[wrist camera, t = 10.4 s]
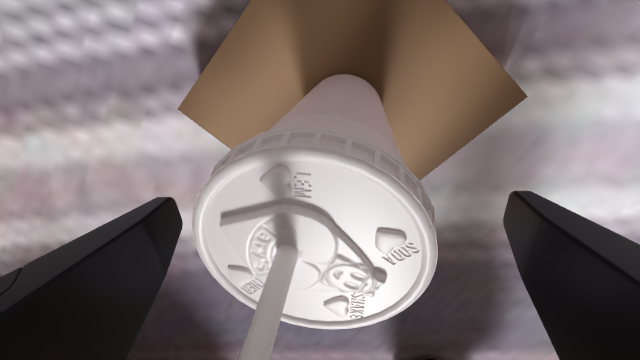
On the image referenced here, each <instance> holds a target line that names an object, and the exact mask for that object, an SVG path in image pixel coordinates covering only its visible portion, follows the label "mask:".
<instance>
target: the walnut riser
mask: <svg viewBox="0 0 640 360" xmlns="http://www.w3.org/2000/svg"><path fill="white" fill-rule="evenodd" d="M339 74H349V75H354V76H357V77H360V78H362V79H364V80H365V81H367V82H368V83H369V84H370V85H371V86H372V87H373V88H374V89H375V90H376V92H377V93H378V95H379V97H380V100H381V103H382V105H383V108H384V111H385V114H386V116H387V119H388V122H389V125H390V128H391V130H392V133H393V136H394V139H395V141H396V144H397V147H398V150H399V152H400V155H401V158H402V161H403V163H404V165H405V166H406V167H407V168H408V169H409V170H410V171H411V172H412V173H413V174H414V175H415V176H416V177H417V178H418V179H419V180H421V179H422V178H423V177H425V176H426V175H427V174H429V173H430V172H431V171H432V170H434V169H435V168H436V167H438V166H439V165H440V164H441V163H443V162H444V161H445V160H447V159H448V158H449V157H450V156H452V155H453V154H454V153H456V152H457V151H458V150H460V149H461V148H462V147H463V146H465V145H466V144H467V143H469V142H470V141H471V140H472V139H474V138H475V137H476V136H478V135H479V134H480V133H481V132H483V131H484V130H485V129H487V128H488V127H489V126H490V125H492V124H493V123H494V122H496V121H497V120H498V119H500V118H501V117H502V116H503V115H505V114H506V113H507V112H509V111H510V110H511V109H512V108H514V107H515V106H516V105H518V104H519V103H520V102H521V101H523V100H524V99H525V98H527V95H526V94H525V93H524V92H523V91H522V90H521V88H520V87H519V86H518V85H517V84H516V83H515V81H514V80H513V79H512V78H511V77H510V75H509V74H508V73H507V72H506V71H505V70H504V68H503V67H502V66H501V65H500V64H499V63H498V61H497V60H496V59H495V58H494V57H493V56H492V54H491V53H490V52H489V51H488V50H487V48H486V47H485V46H484V45H483V44H482V43H481V41H480V40H479V39H478V38H477V37H476V36H475V34H474V33H473V32H472V31H471V30H470V29H469V27H468V26H467V25H466V24H465V23H464V21H463V20H462V19H461V18H460V17H459V16H458V14H457V13H456V12H455V11H454V10H453V9H452V7H451V6H450V5H449V4H448V3H447V2H446V0H251V1H250V2H249V4H248V5H247V7H246V8H245V10H244V11H243V13H242V14H241V16H240V17H239V19H238V20H237V22H236V23H235V25H234V26H233V28H232V29H231V31H230V32H229V34H228V35H227V37H226V38H225V39H224V41H223V42H222V44H221V45H220V47H219V48H218V50H217V51H216V53H215V54H214V56H213V57H212V59H211V60H210V62H209V63H208V65H207V66H206V68H205V69H204V71H203V72H202V74H201V75H200V77H199V78H198V80H197V81H196V83H195V84H194V86H193V87H192V89H191V90H190V92H189V93H188V94H187V96H186V97H185V99H184V100H183V102H182V103H181V105H180V106H179V108H178V110H179V111H181V112H182V113H183V114H185V115H186V116H187V117H189V118H190V119H191V120H193V121H194V122H195V123H197V124H198V125H199V126H201V127H202V128H203V129H205V130H206V131H207V132H209V133H210V134H211V135H213V136H214V137H215V138H217V139H218V140H219V141H221V142H222V143H223V144H225V145H226V146H227V147H229V148H230V149H231V150H232V149H233V148H234V147H235V146H237V145H239V144H241V143H242V142H244V141H246V140H248V139H250V138H252V137H254V136H256V135H258V134H260V133H263V132H267V131H268V130H270V129H271V128H272V127H273V126H274V125H275V124H276V123H277V122H278V121H279V120H280V119H281V118H282V117H284V116H285V115H286V114H287V113H288V112H289V111H290V110H291V109H292V108H293V107H294V106H295V105H296V104H297V103H298V102H299V101H301V100H302V99H303V98H304V97H305V96H306V95H307V94H308V93H309V92H310V91H311V90H312V89H313V88H314V87H315V86H316V85H318V84H319V83H320V82H321V81H323V80H324V79H326V78H328V77H331V76H334V75H339Z"/></svg>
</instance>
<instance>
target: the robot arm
mask: <svg viewBox="0 0 640 360" xmlns="http://www.w3.org/2000/svg"><path fill="white" fill-rule="evenodd" d="M503 223H504V228H505V231H506V234H507V237H508V240H509V243H510V246H511V249H512V252H513V255H514V258H515V261H516V264H517V267H518V270H519V273H520V275H521V278H522V280H523V283H524V285H525V287H526V289H527V291H528V293H529V296H530V298H531V300H532V302H533V304H534V306H535V308H536V310H537V313H538V315H539V317H540V319H541V321H542V323H543V325H544V327H545V330H546V332H547V334H548V336H549V338H550V340H551V342H552V344H553V347H554V349H555V351H556V353H557V355H558V357H559V359H560V360H640V244H638V243H636V242H634V241H631V240H629V239H627V238H625V237H623V236H621V235H619V234H617V233H615V232H613V231H611V230H609V229H607V228H605V227H603V226H601V225H599V224H597V223H595V222H593V221H590V220H588V219H586V218H584V217H582V216H580V215H578V214H576V213H574V212H572V211H570V210H568V209H566V208H564V207H562V206H560V205H558V204H556V203H554V202H552V201H550V200H547V199H545V198H543V197H541V196H539V195H537V194H535V193H533V192H531V191H513V192H512V193H511V194H510V195H509V198H508V202H507V206H506V210H505V213H504V218H503ZM182 224H183V223H182V218H181V216H180V213H179V210H178V207H177V204H176V202H175V200H174V199H173V198H172V197H157V198H155V199H153V200H151V201H149V202H147V203H145V204H143V205H141V206H139V207H137V208H135V209H133V210H131V211H129V212H128V213H126V214H124V215H122V216H120V217H118V218H116V219H114V220H112V221H110V222H108V223H106V224H104V225H102V226H100V227H98V228H96V229H94V230H92V231H90V232H88V233H86V234H85V235H83V236H81V237H79V238H77V239H75V240H73V241H71V242H69V243H67V244H65V245H63V246H61V247H59V248H57V249H55V250H53V251H51V252H49V253H47V254H45V255H43V256H41V257H40V258H38V259H36V260H34V261H32V262H30V263H28V264H26V265H24V266H23V268H22V267H20V268H18V269H16V270H14V271H12V272H10V273H8V274H6V275H4V276H2V277H0V360H126V359H127V357H128V354H129V352H130V350H131V348H132V346H133V344H134V342H135V340H136V337H137V335H138V333H139V331H140V329H141V327H142V325H143V323H144V320H145V318H146V316H147V314H148V312H149V310H150V308H151V306H152V304H153V301H154V299H155V297H156V295H157V293H158V291H159V289H160V287H161V284H162V282H163V280H164V278H165V275H166V273H167V270H168V268H169V265H170V262H171V259H172V256H173V253H174V250H175V247H176V245H177V242H178V239H179V236H180V233H181V230H182ZM428 360H434V359H428Z"/></svg>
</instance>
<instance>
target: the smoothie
mask: <svg viewBox="0 0 640 360" xmlns="http://www.w3.org/2000/svg"><path fill="white" fill-rule="evenodd" d="M192 232H193V237H194V242H195V245H196V248H197V250H198V253H199V255H200V257H201V259H202V261H203V262H204V264H205V266H206V267H207V268H208V270H209V271H210V273H211V274H212V276H213V277H214V278H215V279H216V280H217V281H218V282H219V283H220V284H221V285H222V286H223V287H224V288H225V289H226V290H227V291H228V292H230V293H231V294H232V295H233V296H235V297H236V298H237V299H238V300H240V301H241V302H243V303H245V304H246V305H248V306H250V307H251V308H253V309H254V310H255V313H254V316H253V319H252V321H251V324H250V327H249V330H248V333H247V335H246V338H245V341H244V344H243V347H242V349H241V352H240V355H239V358H238V360H269V359H270V356H271V352H272V349H273V345H274V341H275V338H276V334H277V331H278V327H279V323H280V320H281V321H284V322H287V323H290V324H294V325H299V326H304V327H309V328H319V329H350V328H356V327H362V326H368V325H371V324H374V323H377V322H380V321H383V320H386V319H388V318H390V317H392V316H394V315H396V314H398V313H400V312H402V311H403V310H405V309H406V308H407V307H409V306H410V305H411V304H413V303H414V302H415V301H416V300H417V299H418V298H419V297H420V296H421V295H422V293H423V292H424V291H425V289H426V288H427V287H428V285H429V283H430V281H431V279H432V277H433V275H434V272H435V269H436V264H437V256H438V247H437V239H436V235H437V232H436V223H435V215H434V208H433V206H432V204H431V202H430V199H429V197H428V195H427V193H426V191H425V189H424V187H423V185H422V183H421V181H420V180H419V179H418V178H417V177H416V176H415V175H414V174H413V173H412V172H411V171H410V170H409V169H408V168H407V167H406V166H405V165H404V163H403V161H402V158H401V155H400V152H399V150H398V147H397V144H396V141H395V139H394V136H393V133H392V130H391V128H390V125H389V122H388V119H387V116H386V114H385V111H384V108H383V105H382V103H381V100H380V97H379V95H378V93H377V92H376V90H375V89H374V88H373V87H372V86H371V85H370V84H369V83H368V82H367V81H365V80H364V79H362V78H360V77H357V76H354V75H349V74H339V75H334V76H331V77H328V78H326V79H324V80H323V81H321V82H320V83H319V84H318V85H316V86H315V87H314V88H313V89H312V90H311V91H310V92H309V93H308V94H307V95H306V96H305V97H304V98H303V99H302V100H301V101H299V102H298V103H297V104H296V105H295V106H294V107H293V108H292V109H291V110H290V111H289V112H288V113H287V114H286V115H285V116H284V117H282V118H281V119H280V120H279V121H278V122H277V123H276V124H275V125H274V126H273V127H272V128H271V129H270V130H268V131H267V132H263V133H260V134H258V135H256V136H254V137H252V138H250V139H248V140H246V141H244V142H242V143H241V144H239V145H237V146H235V147H234V148H233V149H232V150H231V151H230V152H229V153H228V154H227V155H226V156H225V157H224V158H223V159H222V160H221V161H220V162H219V163H218V164H217V165H216V166H215V168H214V170H213V172H212V174H211V176H210V178H209V179H208V180H207V181H206V183H205V184H204V186H203V187H202V189H201V190H200V192H199V194H198V196H197V198H196V201H195V204H194V208H193V214H192Z"/></svg>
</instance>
